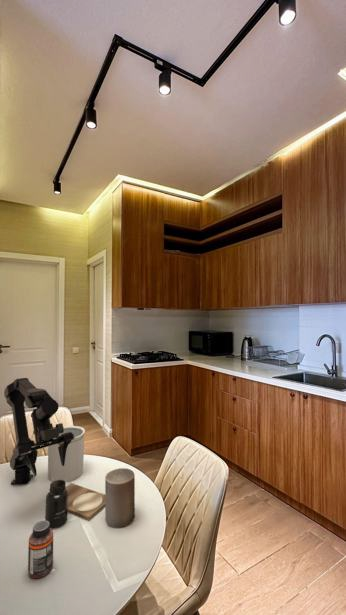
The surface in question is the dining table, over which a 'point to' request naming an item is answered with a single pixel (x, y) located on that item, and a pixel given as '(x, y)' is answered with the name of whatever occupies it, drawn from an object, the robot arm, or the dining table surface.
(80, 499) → the board
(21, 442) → the robot arm
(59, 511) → the supplement bottle
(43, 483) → the dining table surface
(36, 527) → the supplement bottle
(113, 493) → the pillar candle
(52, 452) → the utensil holder
